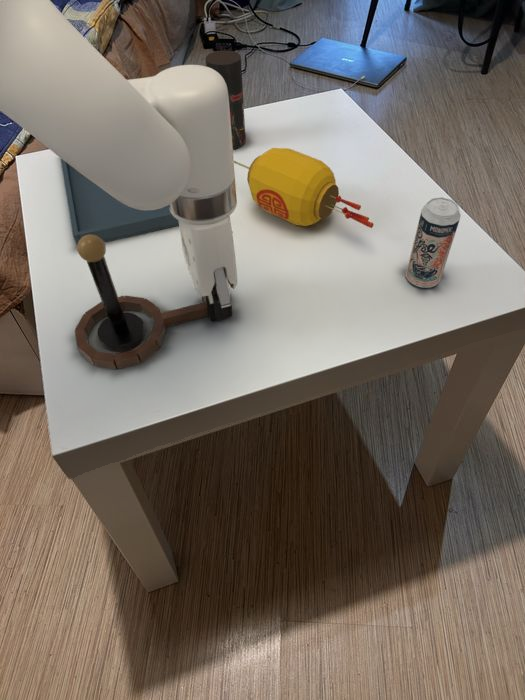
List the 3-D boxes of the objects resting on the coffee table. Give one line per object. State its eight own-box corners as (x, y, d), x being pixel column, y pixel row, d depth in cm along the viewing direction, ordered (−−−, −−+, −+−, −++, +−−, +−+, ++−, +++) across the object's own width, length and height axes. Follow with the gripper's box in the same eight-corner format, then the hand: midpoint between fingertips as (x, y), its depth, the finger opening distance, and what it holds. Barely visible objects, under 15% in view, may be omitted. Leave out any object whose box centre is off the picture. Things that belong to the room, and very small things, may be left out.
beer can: (400, 283, 73) (417, 212, 64) (411, 263, 76) (429, 191, 67) (434, 294, 72) (457, 222, 63) (443, 273, 75) (467, 201, 65)
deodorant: (211, 137, 101) (201, 53, 89) (240, 131, 102) (235, 48, 90) (218, 152, 97) (210, 67, 85) (249, 146, 98) (245, 61, 86)
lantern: (395, 172, 72) (230, 111, 84) (356, 220, 69) (191, 150, 81) (392, 222, 80) (243, 160, 93) (357, 267, 78) (208, 197, 90)
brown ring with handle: (84, 378, 64) (74, 358, 61) (75, 316, 71) (65, 295, 68) (240, 336, 68) (237, 315, 65) (217, 281, 75) (214, 259, 72)
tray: (77, 248, 80) (73, 235, 79) (62, 158, 97) (58, 146, 95) (189, 223, 84) (187, 210, 82) (155, 140, 100) (153, 128, 99)
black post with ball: (102, 357, 66) (61, 261, 54) (96, 324, 70) (57, 227, 58) (149, 345, 68) (119, 248, 55) (141, 313, 71) (111, 215, 59)
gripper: (153, 162, 61) (177, 278, 75) (184, 245, 51) (205, 361, 66) (215, 150, 63) (227, 266, 77) (257, 228, 53) (262, 345, 67)
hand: (217, 309), depth 71 cm, fingers closed on brown ring with handle, 2 cm apart
